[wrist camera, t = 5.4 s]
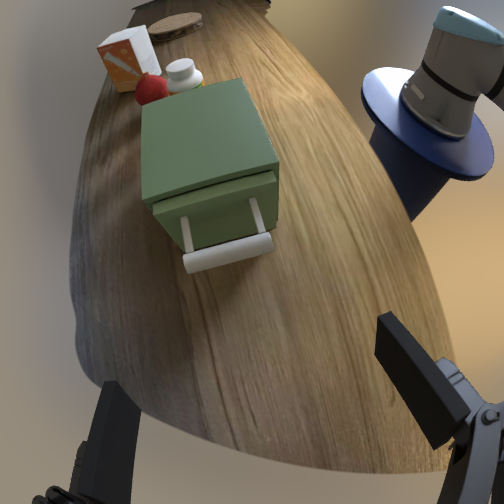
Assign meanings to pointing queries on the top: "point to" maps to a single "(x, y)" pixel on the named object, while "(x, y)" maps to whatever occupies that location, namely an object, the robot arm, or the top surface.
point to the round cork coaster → (175, 26)
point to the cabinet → (202, 141)
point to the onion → (150, 89)
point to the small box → (129, 57)
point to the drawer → (221, 220)
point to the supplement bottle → (183, 76)
